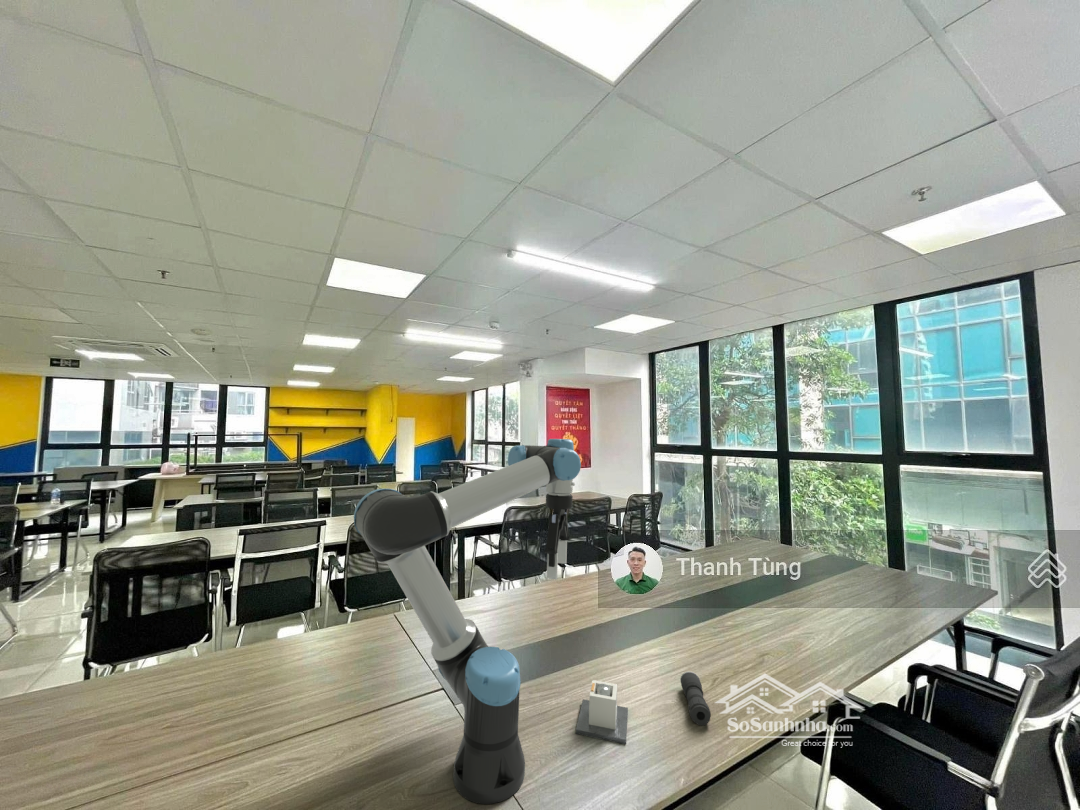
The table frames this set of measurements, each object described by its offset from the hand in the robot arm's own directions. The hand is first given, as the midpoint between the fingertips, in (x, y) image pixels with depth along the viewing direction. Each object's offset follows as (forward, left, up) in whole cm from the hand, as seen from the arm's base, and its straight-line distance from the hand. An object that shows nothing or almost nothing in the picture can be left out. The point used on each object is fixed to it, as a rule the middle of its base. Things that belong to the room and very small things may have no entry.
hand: (557, 570), depth 116 cm
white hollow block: (-5, -14, -34) cm, 37 cm away
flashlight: (+9, -38, -35) cm, 52 cm away
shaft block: (-5, -14, -35) cm, 38 cm away
